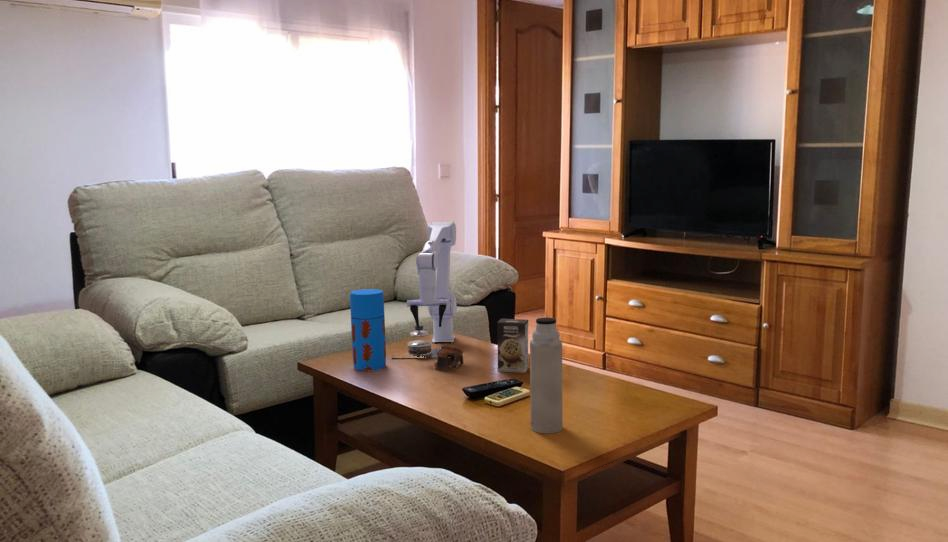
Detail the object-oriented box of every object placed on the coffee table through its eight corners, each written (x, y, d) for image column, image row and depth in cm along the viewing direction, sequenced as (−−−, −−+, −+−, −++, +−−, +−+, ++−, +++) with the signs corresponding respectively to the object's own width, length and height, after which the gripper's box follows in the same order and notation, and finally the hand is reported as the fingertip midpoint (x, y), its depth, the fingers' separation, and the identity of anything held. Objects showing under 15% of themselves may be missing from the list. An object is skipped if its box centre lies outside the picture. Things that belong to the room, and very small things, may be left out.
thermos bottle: (529, 423, 200) (527, 315, 196) (560, 422, 200) (559, 315, 196) (532, 434, 192) (531, 322, 188) (564, 433, 193) (564, 321, 188)
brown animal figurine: (427, 369, 255) (434, 345, 257) (451, 378, 259) (457, 354, 262) (445, 367, 245) (451, 342, 247) (470, 377, 249) (476, 352, 251)
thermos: (383, 371, 252) (380, 294, 248) (350, 371, 252) (347, 295, 248) (388, 362, 262) (385, 288, 259) (356, 362, 263) (353, 289, 259)
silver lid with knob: (411, 332, 275) (410, 324, 274) (429, 332, 275) (428, 323, 274) (409, 336, 269) (408, 328, 268) (427, 336, 268) (427, 327, 268)
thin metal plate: (396, 349, 279) (396, 339, 279) (446, 348, 279) (446, 338, 278) (391, 358, 266) (391, 348, 266) (444, 358, 266) (444, 347, 265)
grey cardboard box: (497, 371, 248) (496, 322, 246) (501, 366, 254) (500, 317, 252) (525, 373, 246) (525, 322, 243) (529, 367, 252) (528, 318, 250)
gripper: (405, 290, 263) (406, 329, 265) (448, 289, 263) (449, 328, 265) (407, 286, 270) (408, 324, 272) (449, 285, 270) (450, 324, 272)
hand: (429, 326), depth 269 cm, fingers open, 7 cm apart
